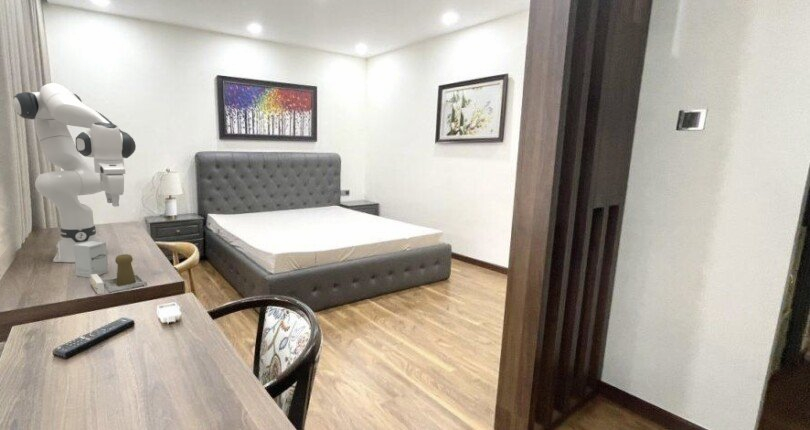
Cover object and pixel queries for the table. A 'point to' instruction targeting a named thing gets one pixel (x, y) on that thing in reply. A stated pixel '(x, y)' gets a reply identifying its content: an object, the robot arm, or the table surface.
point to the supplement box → (90, 258)
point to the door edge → (97, 283)
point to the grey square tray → (112, 286)
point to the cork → (124, 270)
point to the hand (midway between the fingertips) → (113, 204)
